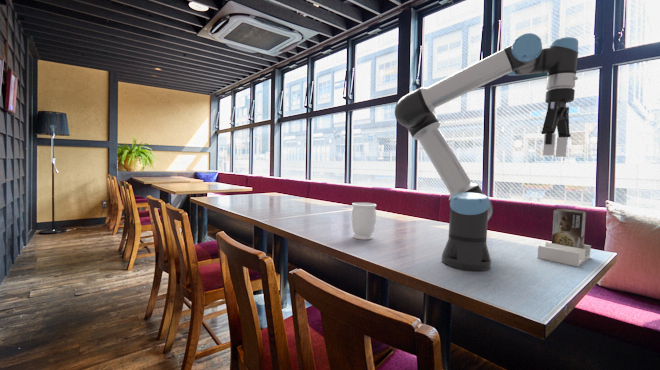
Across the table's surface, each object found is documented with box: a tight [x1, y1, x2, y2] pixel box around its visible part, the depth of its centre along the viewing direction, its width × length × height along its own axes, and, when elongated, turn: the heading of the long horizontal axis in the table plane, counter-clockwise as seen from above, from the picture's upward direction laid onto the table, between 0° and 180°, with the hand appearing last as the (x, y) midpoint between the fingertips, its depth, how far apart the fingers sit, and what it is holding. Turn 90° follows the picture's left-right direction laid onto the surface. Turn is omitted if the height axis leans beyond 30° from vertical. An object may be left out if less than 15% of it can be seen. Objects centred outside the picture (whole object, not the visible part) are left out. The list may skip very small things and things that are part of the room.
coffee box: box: [551, 208, 587, 249], centre depth 121 cm, size 9×6×16 cm
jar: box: [351, 201, 378, 241], centre depth 140 cm, size 11×10×15 cm
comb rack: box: [537, 242, 592, 267], centre depth 118 cm, size 12×18×4 cm
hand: (554, 156), depth 105 cm, fingers open, 13 cm apart
